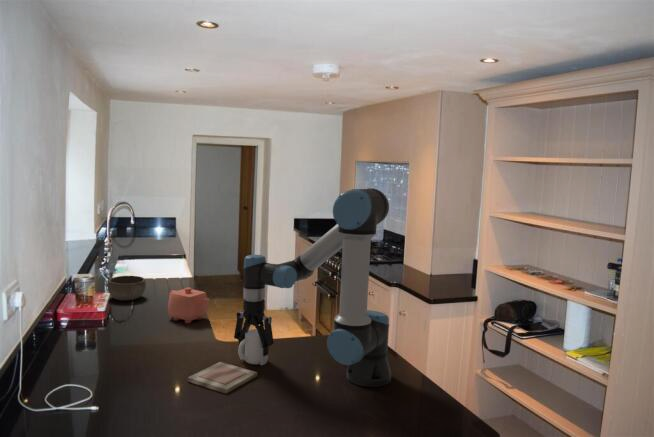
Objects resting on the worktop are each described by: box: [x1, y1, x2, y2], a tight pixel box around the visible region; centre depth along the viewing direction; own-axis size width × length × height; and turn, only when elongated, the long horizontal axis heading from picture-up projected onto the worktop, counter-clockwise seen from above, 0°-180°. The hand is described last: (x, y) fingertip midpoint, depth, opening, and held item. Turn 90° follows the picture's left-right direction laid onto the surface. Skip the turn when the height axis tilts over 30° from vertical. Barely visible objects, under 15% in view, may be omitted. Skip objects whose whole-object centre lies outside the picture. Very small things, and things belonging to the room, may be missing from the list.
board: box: [187, 361, 258, 394], centre depth 174 cm, size 16×16×2 cm
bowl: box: [107, 275, 147, 302], centre depth 264 cm, size 17×18×10 cm
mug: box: [237, 328, 269, 365], centre depth 188 cm, size 12×8×10 cm
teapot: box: [167, 287, 210, 324], centre depth 235 cm, size 22×13×14 cm, turn 61°
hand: (253, 361), depth 188 cm, fingers closed on mug, 8 cm apart
